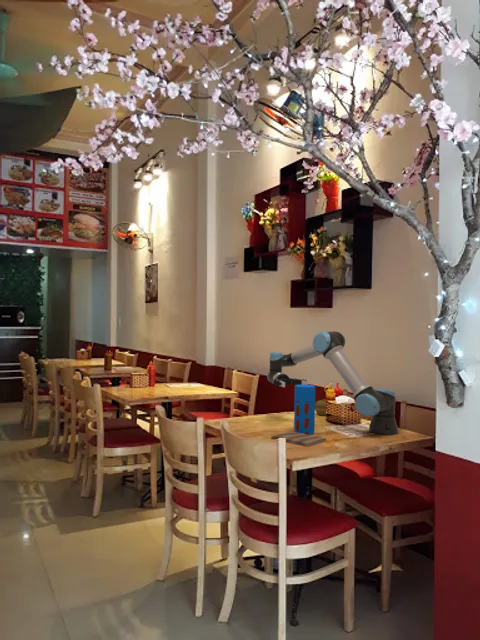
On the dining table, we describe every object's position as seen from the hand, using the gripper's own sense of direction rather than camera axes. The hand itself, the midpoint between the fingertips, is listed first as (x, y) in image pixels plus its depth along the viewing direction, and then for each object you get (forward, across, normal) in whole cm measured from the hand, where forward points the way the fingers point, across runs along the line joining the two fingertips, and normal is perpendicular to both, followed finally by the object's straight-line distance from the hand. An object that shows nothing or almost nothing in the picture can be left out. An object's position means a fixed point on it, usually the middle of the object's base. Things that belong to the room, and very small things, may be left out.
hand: (295, 384), depth 289 cm
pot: (-32, -34, -25) cm, 53 cm away
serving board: (+26, +9, -24) cm, 37 cm away
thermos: (+12, 0, -24) cm, 27 cm away
